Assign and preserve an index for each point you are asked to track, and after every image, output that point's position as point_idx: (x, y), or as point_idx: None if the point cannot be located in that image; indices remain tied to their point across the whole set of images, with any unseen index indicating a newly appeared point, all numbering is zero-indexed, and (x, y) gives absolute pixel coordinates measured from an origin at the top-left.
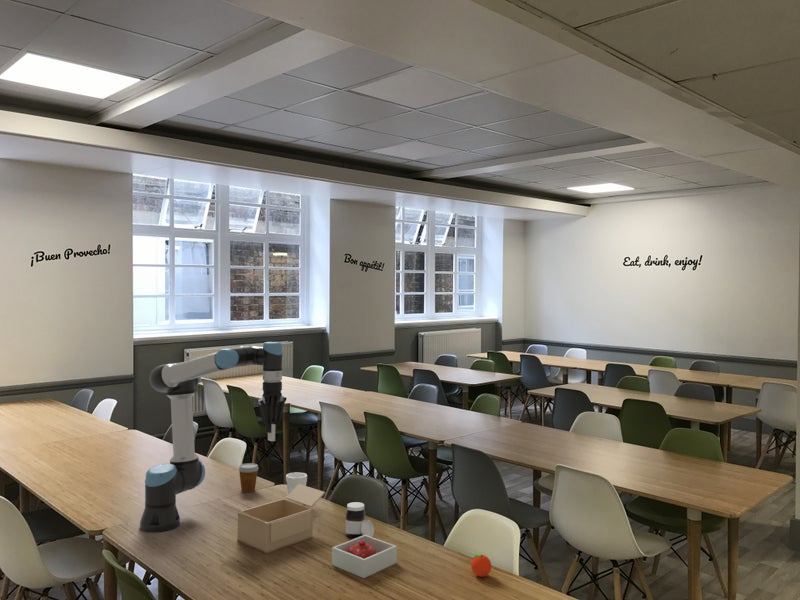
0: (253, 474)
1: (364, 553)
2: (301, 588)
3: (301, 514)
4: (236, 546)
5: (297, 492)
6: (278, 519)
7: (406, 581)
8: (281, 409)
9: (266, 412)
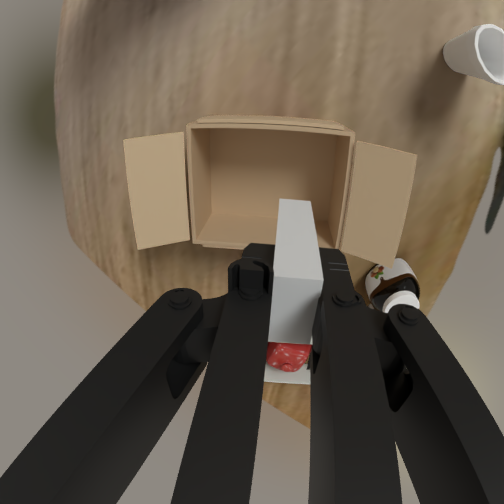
0: None
1: (276, 368)
2: None
3: None
4: None
5: (382, 173)
6: (227, 244)
7: (282, 389)
8: (424, 486)
9: (138, 463)
